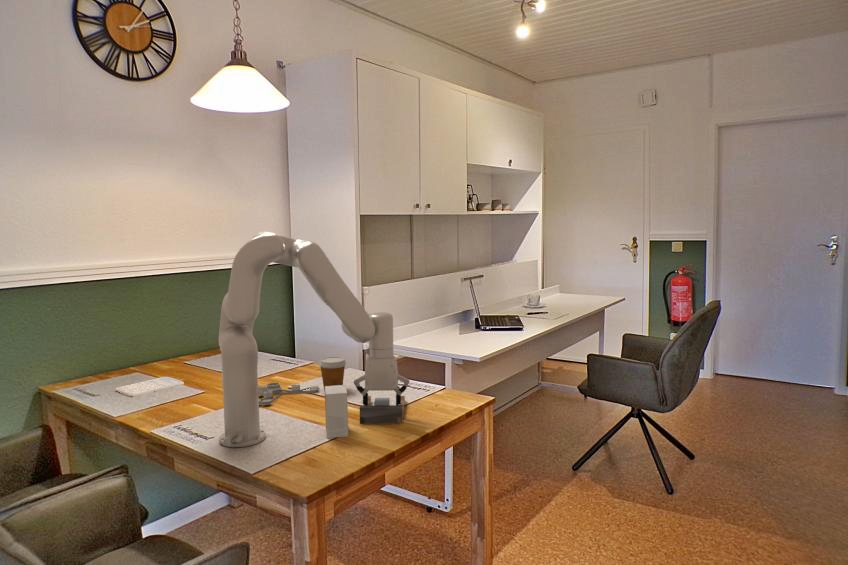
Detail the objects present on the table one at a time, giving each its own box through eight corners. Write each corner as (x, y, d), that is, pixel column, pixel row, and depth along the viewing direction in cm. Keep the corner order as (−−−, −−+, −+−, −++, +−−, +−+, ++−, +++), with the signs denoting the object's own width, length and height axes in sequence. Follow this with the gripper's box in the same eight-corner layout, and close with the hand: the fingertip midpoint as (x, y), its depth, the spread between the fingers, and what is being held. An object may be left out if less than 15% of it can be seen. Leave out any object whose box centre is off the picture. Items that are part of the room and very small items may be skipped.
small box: (325, 428, 174) (324, 385, 173) (346, 426, 175) (345, 384, 174) (326, 438, 166) (325, 394, 165) (348, 436, 167) (347, 392, 166)
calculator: (114, 392, 213) (114, 387, 213) (167, 379, 228) (166, 375, 228) (131, 399, 205) (131, 393, 204) (185, 385, 220) (184, 381, 220)
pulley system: (235, 403, 201) (259, 410, 191) (234, 389, 201) (258, 395, 191) (300, 388, 222) (325, 393, 212) (299, 375, 221) (324, 380, 211)
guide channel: (402, 423, 178) (402, 407, 177) (359, 423, 178) (359, 407, 177) (404, 401, 199) (404, 387, 198) (366, 401, 199) (366, 387, 198)
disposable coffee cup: (350, 389, 213) (350, 357, 211) (340, 397, 204) (339, 363, 202) (326, 387, 215) (326, 355, 214) (315, 395, 206) (314, 361, 205)
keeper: (389, 421, 180) (388, 402, 179) (374, 421, 180) (374, 402, 179) (389, 416, 184) (389, 397, 184) (375, 416, 184) (375, 397, 184)
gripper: (351, 355, 176) (352, 410, 178) (408, 355, 176) (409, 410, 178) (354, 350, 183) (355, 402, 185) (409, 349, 183) (410, 402, 185)
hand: (382, 406), depth 182 cm, fingers open, 9 cm apart
